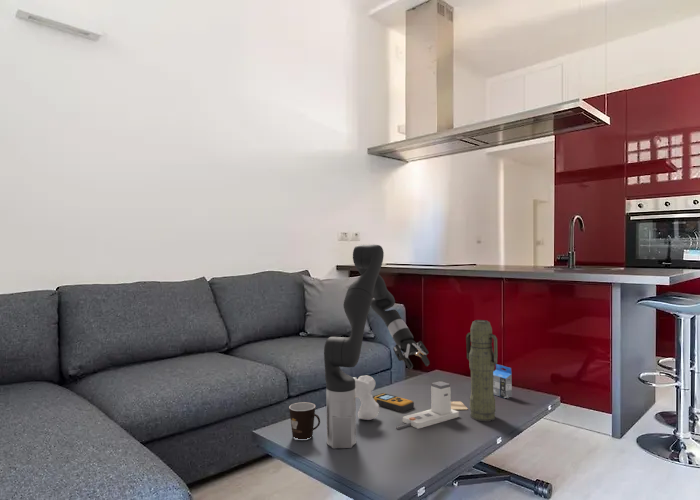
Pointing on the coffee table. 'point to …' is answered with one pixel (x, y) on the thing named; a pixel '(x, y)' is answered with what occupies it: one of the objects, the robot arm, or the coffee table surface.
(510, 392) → the label tape box
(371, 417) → the white irregular upright piece
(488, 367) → the thermos
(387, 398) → the electronic device
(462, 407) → the cork coaster
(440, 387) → the block
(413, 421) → the power strip
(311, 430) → the coffee mug
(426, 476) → the coffee table surface
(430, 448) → the coffee table surface
